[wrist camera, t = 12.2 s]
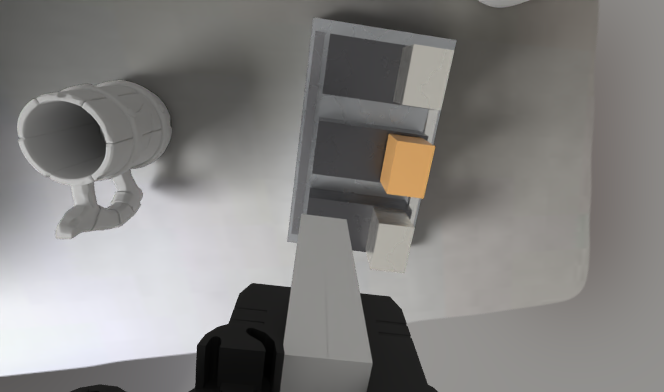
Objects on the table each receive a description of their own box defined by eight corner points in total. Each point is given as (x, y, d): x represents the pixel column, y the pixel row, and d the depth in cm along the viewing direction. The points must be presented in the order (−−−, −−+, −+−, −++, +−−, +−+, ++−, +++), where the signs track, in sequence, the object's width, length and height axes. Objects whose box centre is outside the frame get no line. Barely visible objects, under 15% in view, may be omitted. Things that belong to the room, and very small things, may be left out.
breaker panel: (288, 233, 39) (280, 276, 30) (313, 20, 33) (311, 2, 25) (404, 247, 39) (426, 292, 31) (448, 42, 34) (490, 31, 25)
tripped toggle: (379, 181, 32) (386, 193, 28) (388, 133, 30) (397, 140, 27) (412, 185, 32) (423, 198, 28) (422, 138, 31) (435, 146, 27)
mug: (170, 79, 34) (94, 81, 22) (185, 205, 37) (125, 262, 26) (83, 79, 34) (-39, 81, 22) (106, 205, 37) (11, 262, 26)
